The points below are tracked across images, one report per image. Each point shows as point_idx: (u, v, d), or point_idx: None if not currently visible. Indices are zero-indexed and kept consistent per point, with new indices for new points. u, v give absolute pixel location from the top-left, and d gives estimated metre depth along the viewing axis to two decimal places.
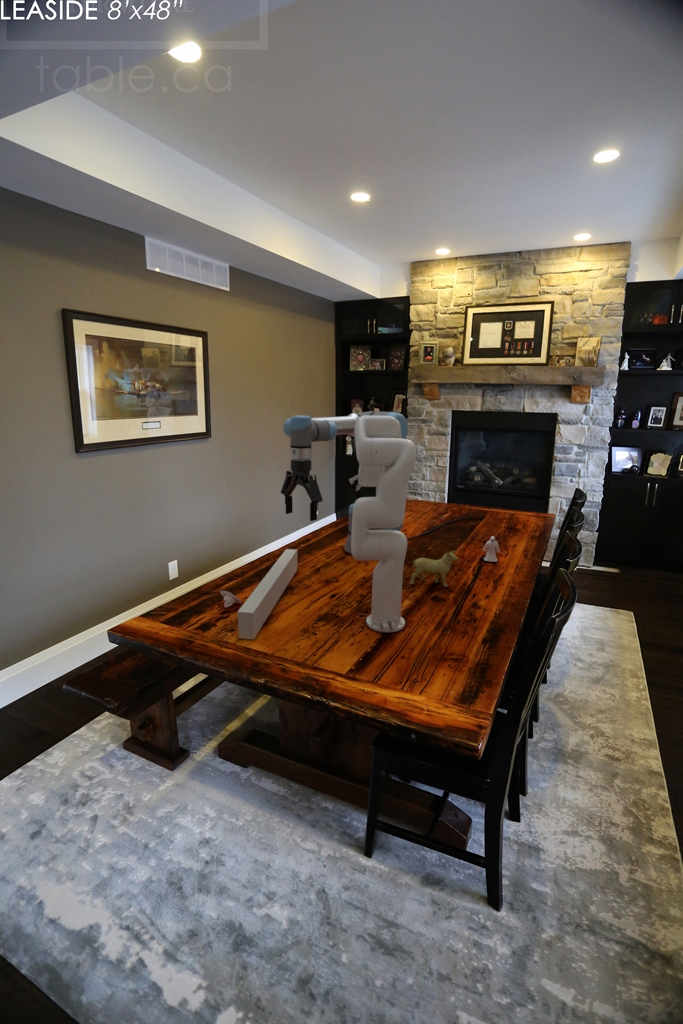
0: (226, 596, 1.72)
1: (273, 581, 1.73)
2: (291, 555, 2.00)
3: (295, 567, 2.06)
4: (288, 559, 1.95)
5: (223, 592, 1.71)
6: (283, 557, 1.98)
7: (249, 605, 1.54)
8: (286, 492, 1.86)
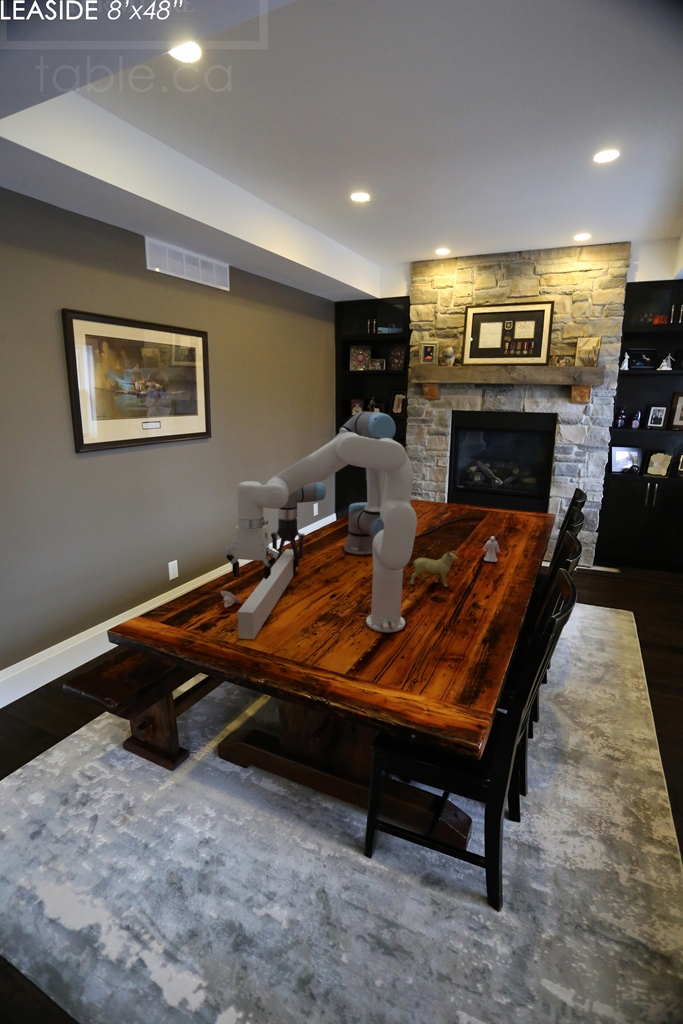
0: (226, 596, 1.72)
1: (273, 581, 1.73)
2: (291, 555, 2.00)
3: None
4: (288, 559, 1.95)
5: (223, 592, 1.71)
6: (283, 557, 1.98)
7: (249, 605, 1.54)
8: None
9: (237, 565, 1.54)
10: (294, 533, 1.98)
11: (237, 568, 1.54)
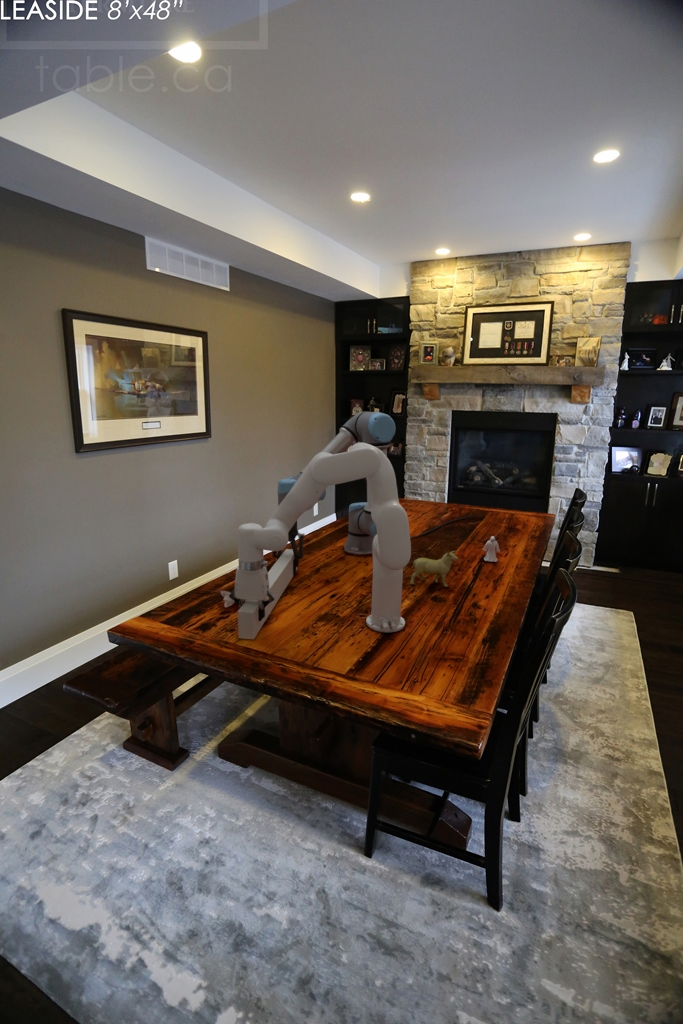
0: (226, 596, 1.72)
1: (273, 581, 1.73)
2: (291, 555, 2.00)
3: None
4: (288, 559, 1.95)
5: (223, 592, 1.71)
6: (283, 557, 1.98)
7: (249, 605, 1.54)
8: None
9: None
10: (294, 533, 1.98)
11: None
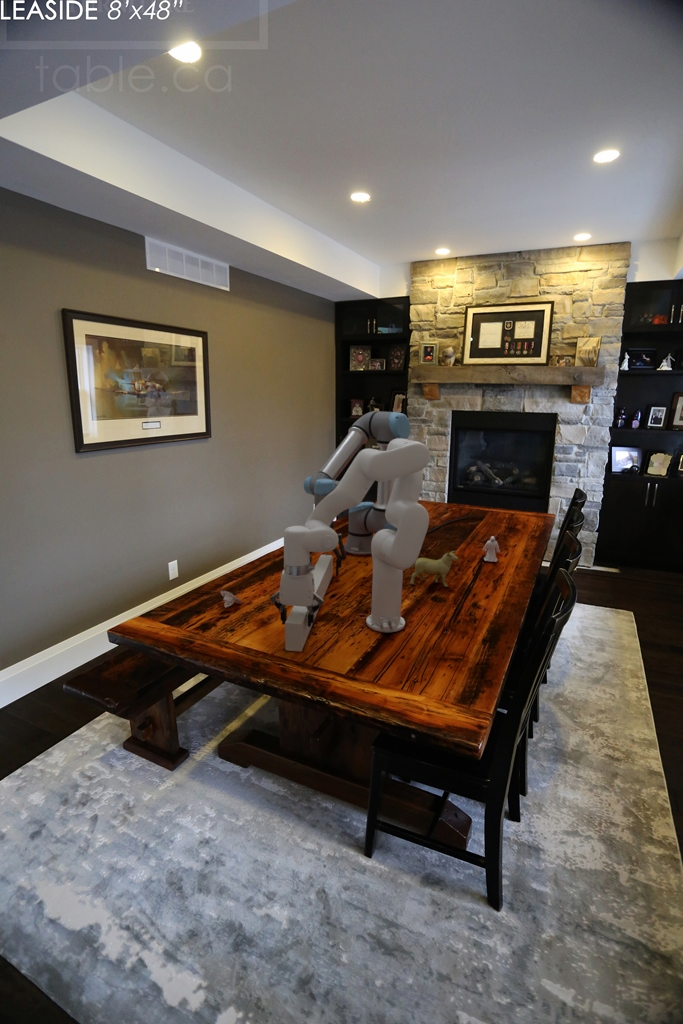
0: (226, 596, 1.72)
1: (315, 589, 1.67)
2: (328, 561, 1.94)
3: (331, 573, 1.99)
4: (325, 566, 1.89)
5: (223, 592, 1.71)
6: (320, 563, 1.92)
7: (295, 615, 1.48)
8: None
9: (285, 613, 1.50)
10: None
11: (285, 616, 1.50)
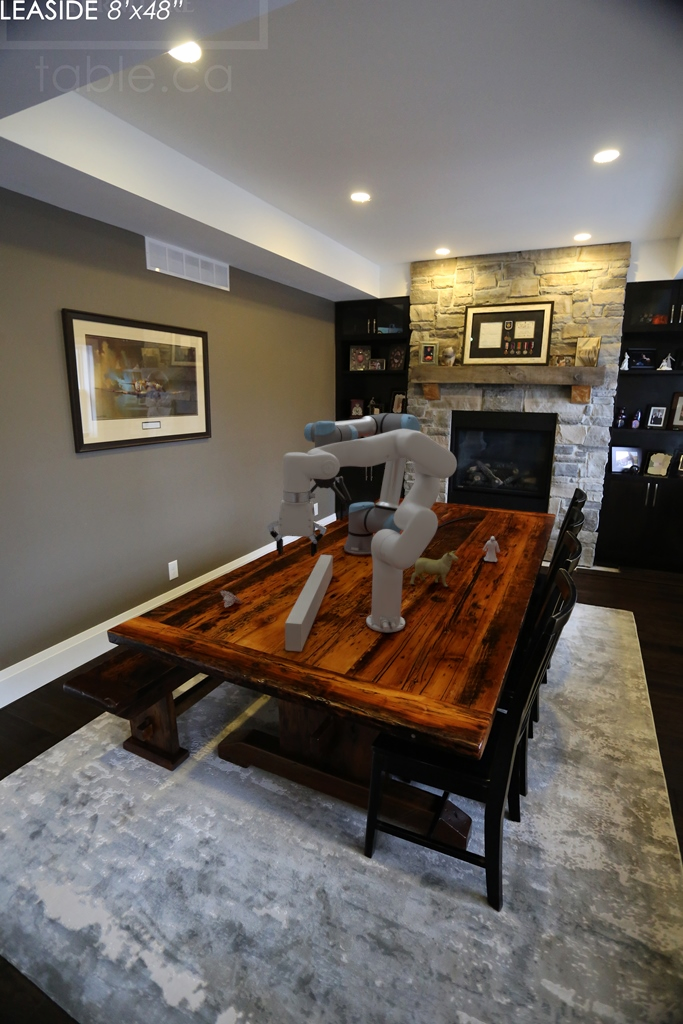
0: (226, 596, 1.72)
1: (315, 589, 1.67)
2: (328, 561, 1.94)
3: (331, 573, 1.99)
4: (325, 566, 1.89)
5: (223, 592, 1.71)
6: (320, 563, 1.92)
7: (295, 615, 1.48)
8: None
9: (281, 542, 1.45)
10: (331, 479, 1.86)
11: (281, 545, 1.45)
